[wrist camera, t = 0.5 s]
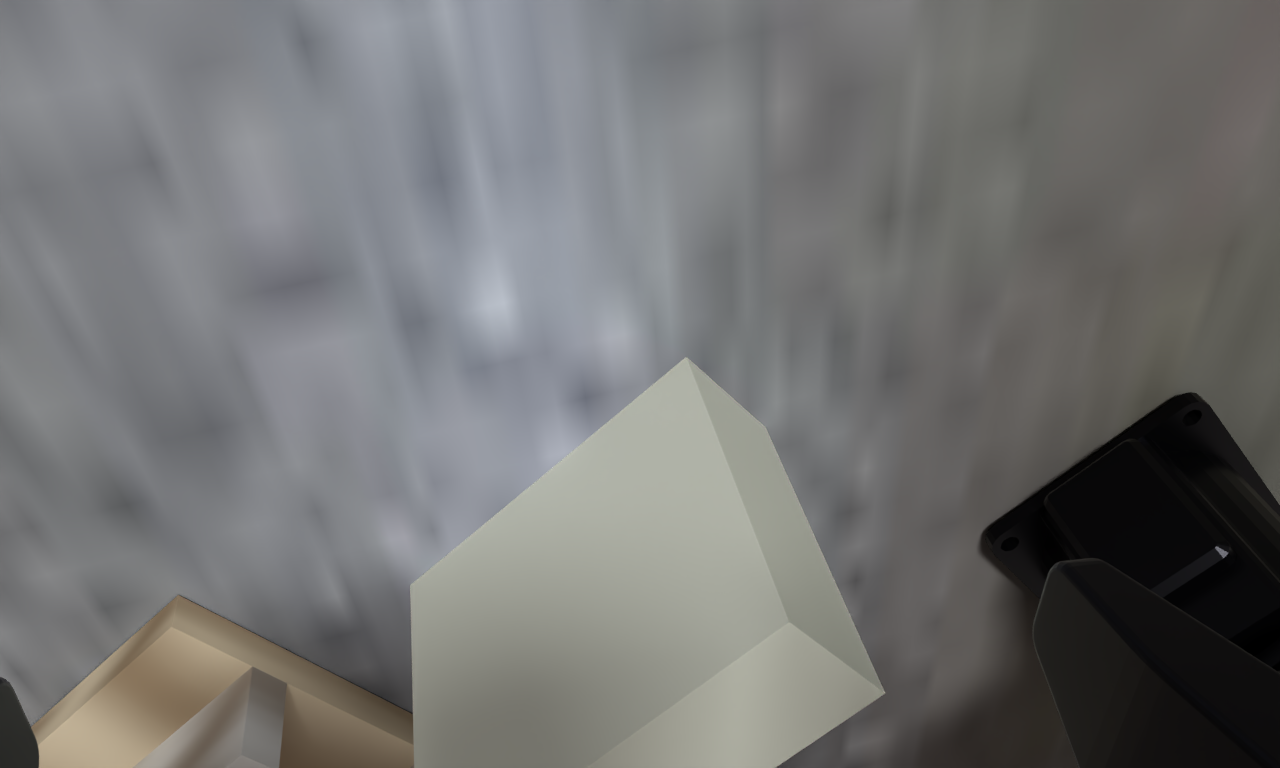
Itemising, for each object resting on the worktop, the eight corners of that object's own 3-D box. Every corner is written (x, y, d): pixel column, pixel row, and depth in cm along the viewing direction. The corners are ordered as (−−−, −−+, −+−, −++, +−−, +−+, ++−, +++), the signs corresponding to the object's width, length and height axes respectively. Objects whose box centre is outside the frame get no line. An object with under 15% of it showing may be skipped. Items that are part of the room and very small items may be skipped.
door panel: (685, 355, 25) (789, 621, 18) (764, 426, 26) (885, 693, 20) (410, 584, 27) (416, 888, 21) (497, 635, 29) (529, 934, 22)
